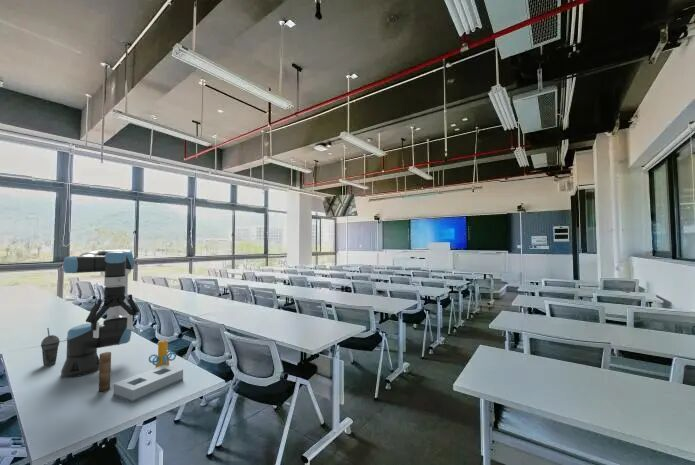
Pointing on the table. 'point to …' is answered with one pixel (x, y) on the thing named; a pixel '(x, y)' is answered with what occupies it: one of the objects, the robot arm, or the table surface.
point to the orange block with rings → (162, 355)
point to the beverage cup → (50, 349)
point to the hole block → (147, 383)
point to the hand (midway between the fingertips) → (113, 333)
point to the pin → (104, 371)
